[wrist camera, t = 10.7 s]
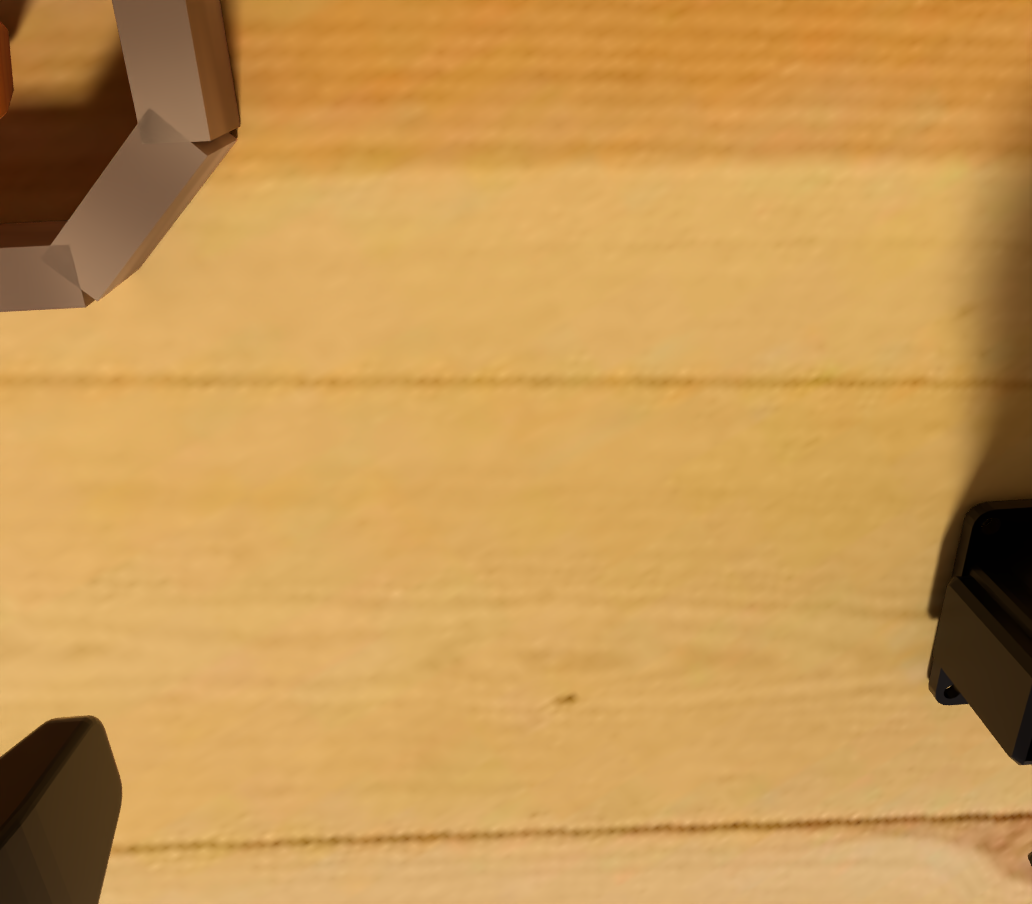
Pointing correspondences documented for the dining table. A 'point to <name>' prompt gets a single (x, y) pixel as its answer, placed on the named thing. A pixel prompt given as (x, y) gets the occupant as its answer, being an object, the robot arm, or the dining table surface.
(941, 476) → the dining table surface
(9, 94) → the carrot
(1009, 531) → the robot arm
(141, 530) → the dining table surface
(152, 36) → the bead ring
